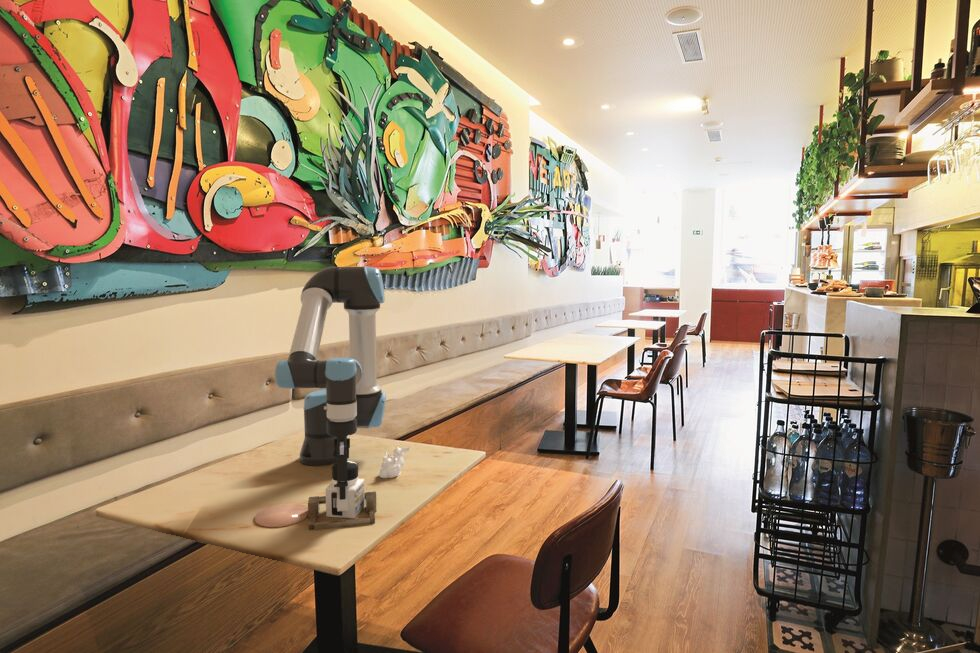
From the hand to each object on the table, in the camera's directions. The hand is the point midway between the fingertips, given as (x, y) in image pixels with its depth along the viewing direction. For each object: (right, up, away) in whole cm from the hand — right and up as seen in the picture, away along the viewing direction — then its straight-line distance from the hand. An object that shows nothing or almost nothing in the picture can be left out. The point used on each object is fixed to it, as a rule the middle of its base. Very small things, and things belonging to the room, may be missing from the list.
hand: (343, 502), depth 145 cm
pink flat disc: (-15, -3, -3) cm, 15 cm away
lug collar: (0, -3, 0) cm, 3 cm away
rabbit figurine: (+9, 0, +27) cm, 29 cm away
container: (+1, -3, 0) cm, 3 cm away
